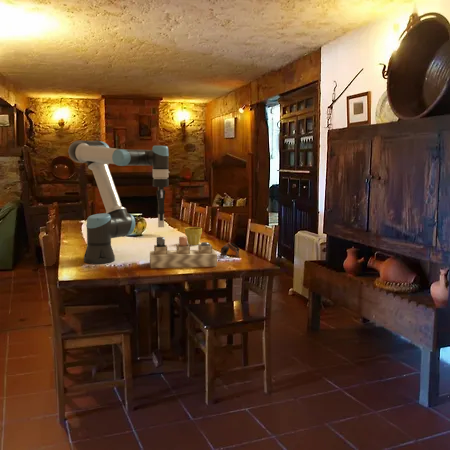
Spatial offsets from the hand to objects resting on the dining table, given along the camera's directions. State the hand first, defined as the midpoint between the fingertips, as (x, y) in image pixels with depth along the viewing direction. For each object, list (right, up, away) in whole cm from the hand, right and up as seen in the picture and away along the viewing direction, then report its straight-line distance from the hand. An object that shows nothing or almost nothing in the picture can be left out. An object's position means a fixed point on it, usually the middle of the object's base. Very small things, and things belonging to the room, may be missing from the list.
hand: (161, 227), depth 241 cm
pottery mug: (+33, -16, +27) cm, 45 cm away
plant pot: (+12, -11, +59) cm, 61 cm away
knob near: (0, -10, +2) cm, 10 cm away
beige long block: (+10, -19, +5) cm, 22 cm away
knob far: (+21, -12, +6) cm, 25 cm away
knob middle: (+10, -9, +4) cm, 14 cm away
